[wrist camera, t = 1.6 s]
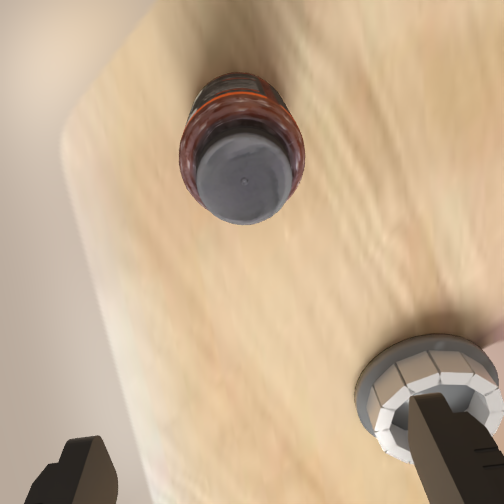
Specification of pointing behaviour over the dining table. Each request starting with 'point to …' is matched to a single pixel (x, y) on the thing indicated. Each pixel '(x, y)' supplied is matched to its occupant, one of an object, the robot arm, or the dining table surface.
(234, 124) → the supplement bottle
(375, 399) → the bottle socket
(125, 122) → the dining table surface
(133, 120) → the dining table surface
